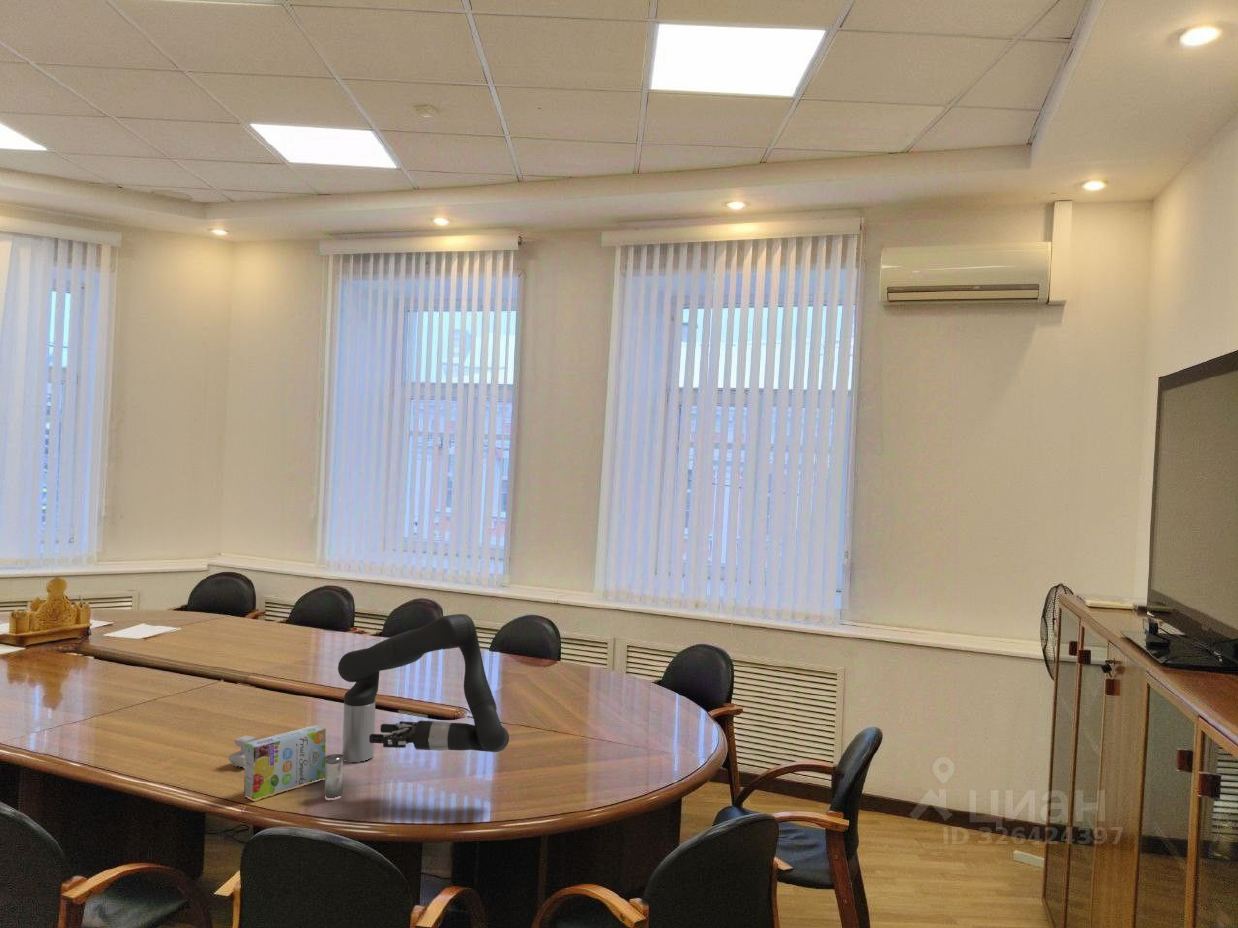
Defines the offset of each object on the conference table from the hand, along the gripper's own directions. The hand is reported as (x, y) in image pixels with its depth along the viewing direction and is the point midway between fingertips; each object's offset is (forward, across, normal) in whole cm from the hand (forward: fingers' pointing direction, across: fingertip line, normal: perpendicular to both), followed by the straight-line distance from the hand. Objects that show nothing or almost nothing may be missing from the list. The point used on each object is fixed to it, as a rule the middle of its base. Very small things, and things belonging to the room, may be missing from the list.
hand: (375, 733), depth 222 cm
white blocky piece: (+46, -18, +18) cm, 52 cm away
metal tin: (+11, 0, +18) cm, 21 cm away
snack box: (+27, -4, +18) cm, 32 cm away
